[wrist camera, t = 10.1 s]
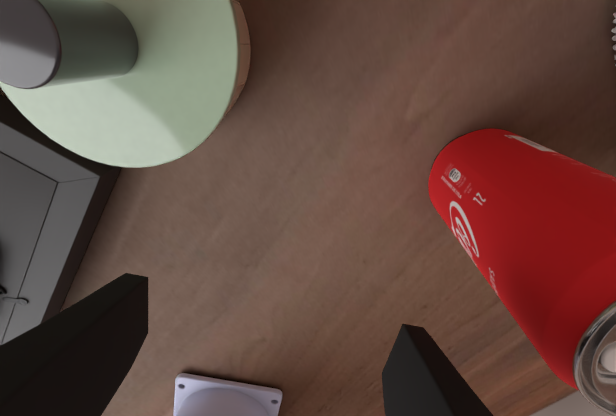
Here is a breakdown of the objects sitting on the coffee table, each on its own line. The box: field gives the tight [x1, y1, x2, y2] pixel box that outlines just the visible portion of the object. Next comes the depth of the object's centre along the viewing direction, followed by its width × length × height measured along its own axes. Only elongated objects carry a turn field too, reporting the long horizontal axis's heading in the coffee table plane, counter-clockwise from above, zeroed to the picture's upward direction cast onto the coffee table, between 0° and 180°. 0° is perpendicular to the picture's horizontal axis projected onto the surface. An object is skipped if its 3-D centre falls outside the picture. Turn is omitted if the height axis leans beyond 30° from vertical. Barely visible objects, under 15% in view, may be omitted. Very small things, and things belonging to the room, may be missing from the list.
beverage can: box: [429, 129, 616, 416], centre depth 13 cm, size 5×5×12 cm
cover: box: [0, 0, 241, 168], centre depth 10 cm, size 9×9×5 cm
